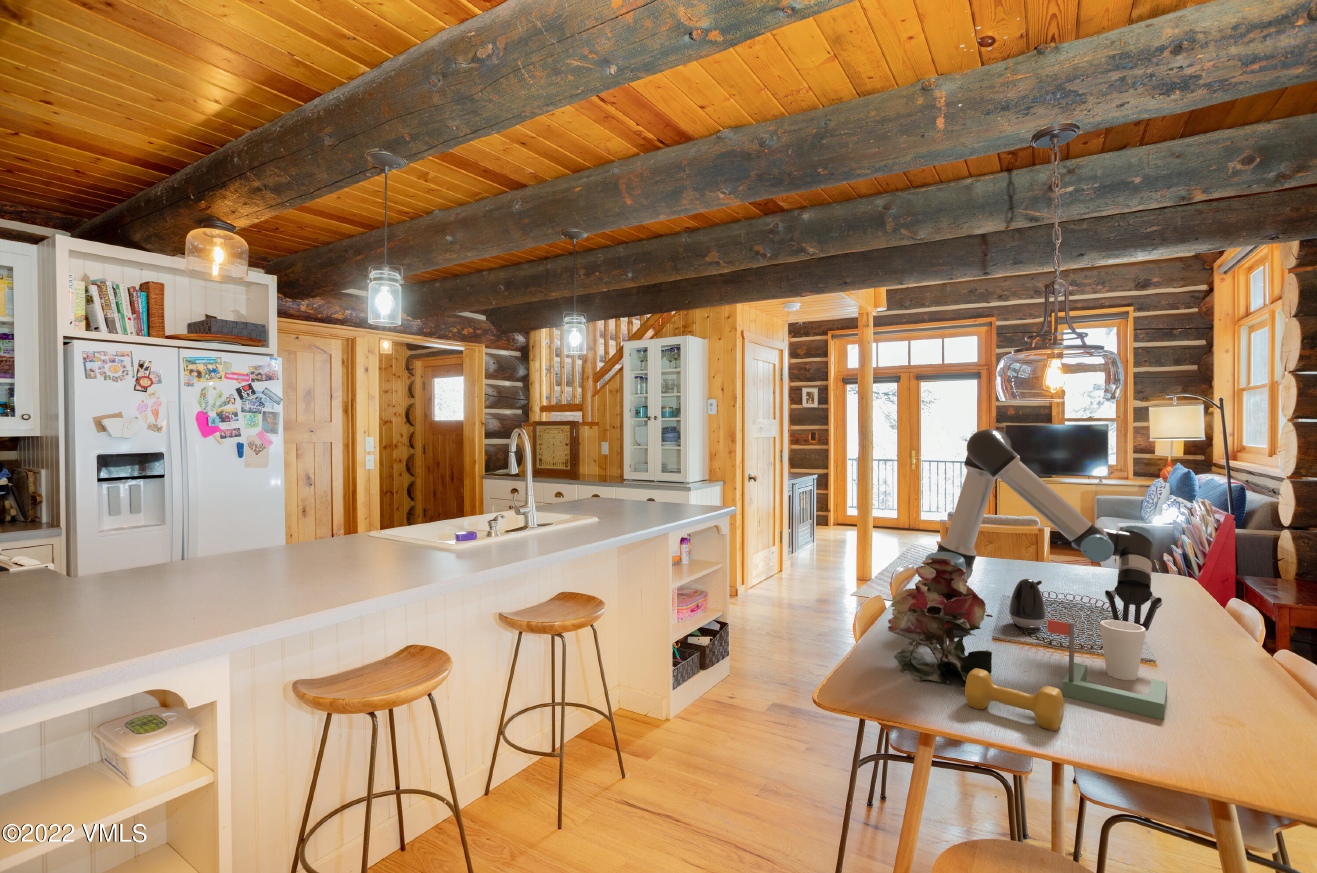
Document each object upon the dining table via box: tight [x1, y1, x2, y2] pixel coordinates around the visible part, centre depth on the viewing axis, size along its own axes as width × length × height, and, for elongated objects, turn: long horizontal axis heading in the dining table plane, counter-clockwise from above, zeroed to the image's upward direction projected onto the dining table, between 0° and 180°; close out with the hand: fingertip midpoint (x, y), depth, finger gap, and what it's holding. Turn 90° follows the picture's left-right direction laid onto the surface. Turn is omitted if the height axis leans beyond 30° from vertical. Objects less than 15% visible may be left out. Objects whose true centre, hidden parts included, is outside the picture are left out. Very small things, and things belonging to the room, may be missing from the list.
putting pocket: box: [1046, 619, 1168, 721], centre depth 152 cm, size 16×22×18 cm
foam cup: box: [1099, 619, 1147, 681], centre depth 163 cm, size 10×9×13 cm
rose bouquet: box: [887, 557, 997, 690], centre depth 168 cm, size 26×29×30 cm
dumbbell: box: [964, 668, 1065, 732], centre depth 141 cm, size 19×9×8 cm, turn 46°
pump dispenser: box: [1008, 578, 1047, 629], centre depth 203 cm, size 10×10×15 cm
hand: (1129, 650), depth 167 cm, fingers closed
